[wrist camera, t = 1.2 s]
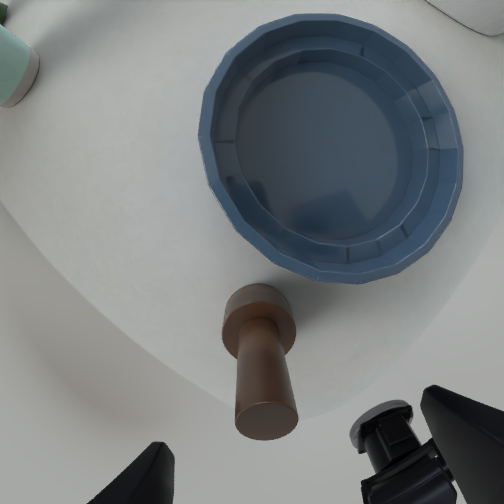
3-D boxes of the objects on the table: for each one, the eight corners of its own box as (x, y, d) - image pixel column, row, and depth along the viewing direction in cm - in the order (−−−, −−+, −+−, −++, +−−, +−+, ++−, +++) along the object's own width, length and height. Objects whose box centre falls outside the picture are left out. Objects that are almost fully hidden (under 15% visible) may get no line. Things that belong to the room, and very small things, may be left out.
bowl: (435, 237, 18) (472, 249, 13) (240, 283, 18) (239, 312, 14) (393, 49, 14) (421, 25, 10) (192, 65, 15) (177, 32, 10)
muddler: (293, 334, 19) (326, 441, 9) (233, 346, 19) (226, 458, 9) (283, 277, 18) (320, 369, 8) (218, 291, 18) (191, 391, 8)
